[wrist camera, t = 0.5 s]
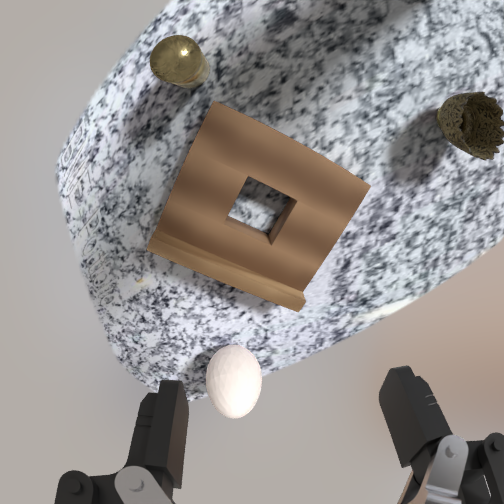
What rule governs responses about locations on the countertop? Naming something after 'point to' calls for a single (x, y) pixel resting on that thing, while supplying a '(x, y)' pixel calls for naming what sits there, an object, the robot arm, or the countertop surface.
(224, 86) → the countertop surface
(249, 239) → the jig
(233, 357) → the egg
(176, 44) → the brass cylinder peg
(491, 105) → the cup
